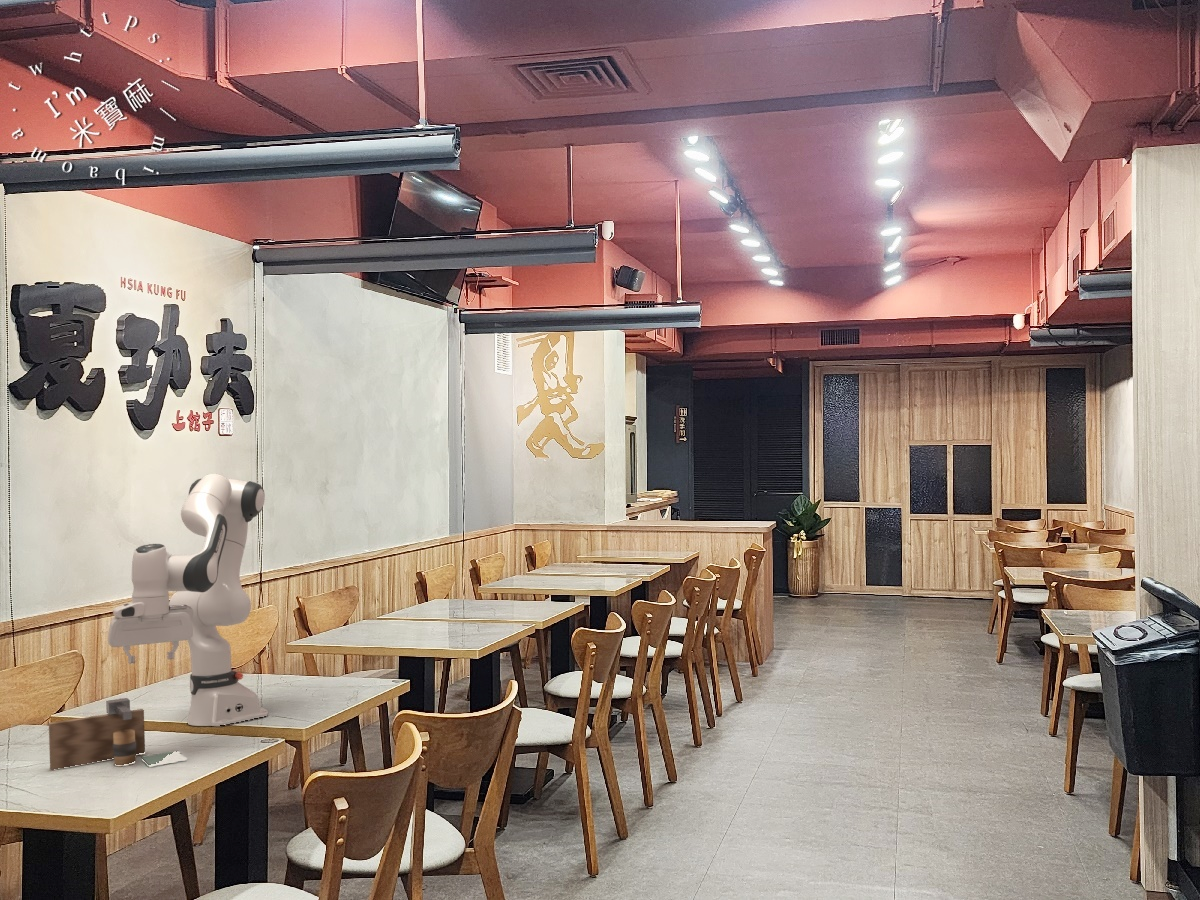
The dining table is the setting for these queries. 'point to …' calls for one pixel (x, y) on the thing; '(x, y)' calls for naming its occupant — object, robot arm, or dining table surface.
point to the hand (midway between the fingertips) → (151, 661)
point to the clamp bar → (119, 708)
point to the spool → (124, 747)
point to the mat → (155, 758)
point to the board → (91, 738)
